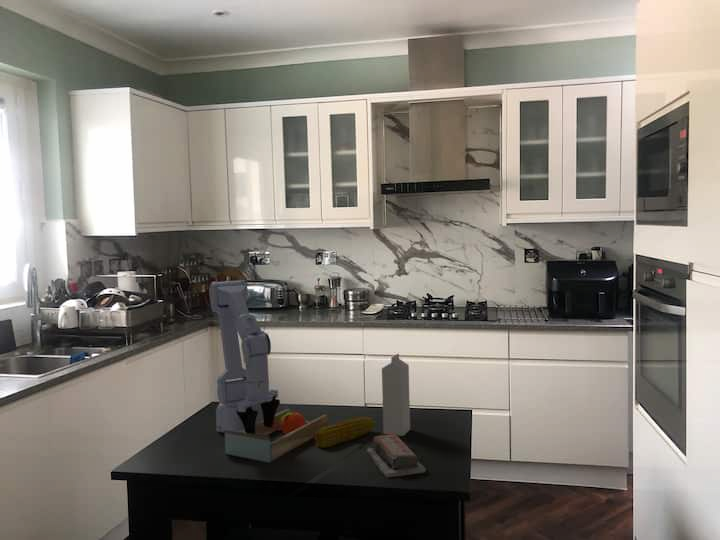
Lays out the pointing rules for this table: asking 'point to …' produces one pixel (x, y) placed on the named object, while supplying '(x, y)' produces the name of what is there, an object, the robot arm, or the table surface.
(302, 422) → the clementine
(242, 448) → the panel
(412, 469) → the packaged product
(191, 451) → the table surface
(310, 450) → the table surface
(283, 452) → the crate
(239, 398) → the robot arm
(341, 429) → the food
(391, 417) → the milk
